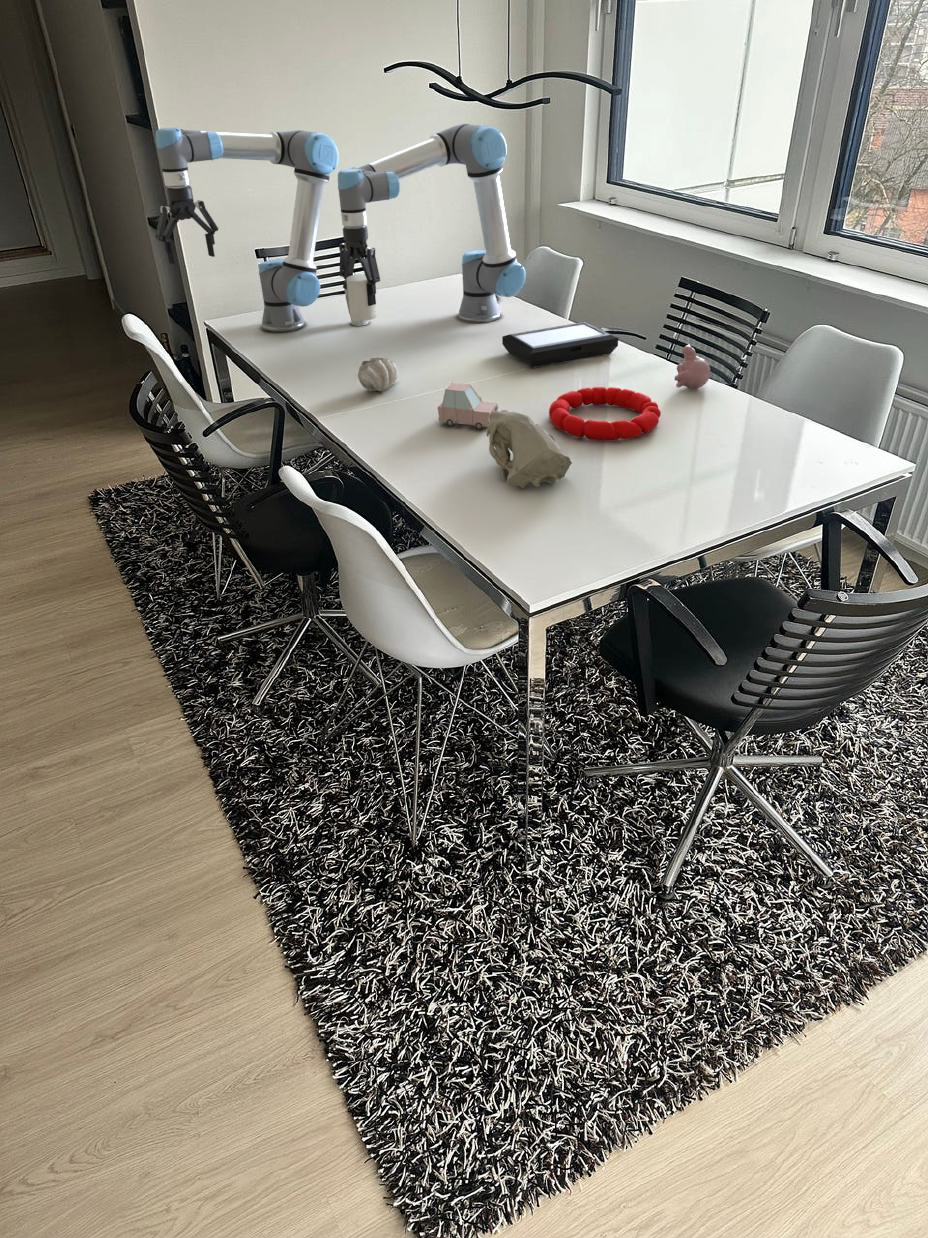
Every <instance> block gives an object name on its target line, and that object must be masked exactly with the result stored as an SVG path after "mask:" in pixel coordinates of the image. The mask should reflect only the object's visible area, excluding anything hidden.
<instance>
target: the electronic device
mask: <svg viewBox="0 0 928 1238" xmlns="http://www.w3.org/2000/svg"><path fill="white" fill-rule="evenodd" d="M501 343H502V344H501V345H502V346H503V347H504V349H505V350H506V351H507V353H508V354H509V355H511V356H513V357H514V358H516V359H518V360H519V361H521V362H523V363H524V364H526V365H527V366H529V367H530V368H532V369H534V368H539V367H545V366H551V365H556V364H563V363H568V362H572V361H573V362H574V361H578V360H579V361H580V360H584V359H590V358H595V357H601V356H606V355H611V354H613V352H614V351H615V350H616V349H617V348H618V346H619V337H617V336H615V335H613V334H611V333H609V332H607V331H605V330H603V329H602V328H599V327H597V326H595V325H593V324H591V323H589V322H587V321H581V322H576V323H569V324H563V325H557V326H552V327H546V328H540V329H533V330H528V331H527V330H526V331H522V332H515V333H510V334H506V335H503V336H501Z"/></svg>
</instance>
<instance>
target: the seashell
mask: <svg viewBox="0 0 928 1238" xmlns="http://www.w3.org/2000/svg"><path fill="white" fill-rule="evenodd" d="M357 377H358V381H359V382H360V385H361V386H362V387H363V388H364V389H366V391H368V392H375V391H379V392H385V391H388V390H390V388H391V387H392V386H393V385H394V384H395V382H396V380H397V379H398V367H397V365H396V363H395V361H393V360H389V358H383V357H371V358H370V359H369V360H362V362H361V364H360V366H359V367H358V373H357Z"/></svg>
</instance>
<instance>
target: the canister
mask: <svg viewBox="0 0 928 1238" xmlns="http://www.w3.org/2000/svg"><path fill="white" fill-rule="evenodd" d="M346 280H347V290H348V299H349V309H350V314H349V318H350V320H351V319H352V320H356V321H366V320H368V321H371V320H375V319H376V318H377V305H376V304H377V303H376V304H375V305H372V306H368V296H367V285H366V284H367V283H368V281H367V278H366V276H365V273H361V274H360V273H359V274H358V273H357V274H352V276H349V277H347V278H346ZM371 280H372V278H371Z"/></svg>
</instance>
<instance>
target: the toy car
mask: <svg viewBox="0 0 928 1238" xmlns="http://www.w3.org/2000/svg"><path fill="white" fill-rule="evenodd" d="M498 409H499V404H498V403H497V402H490V401H489V402H487V401H483V397H481V396H480V395H479V394H478V393H477V391H476V390H475V389H474V386H472V384H469V383H459V382H451V383H450V384H449V385H448V386H447V387H446V388H445V389H444V394H443V399H442V403H440V404H439V405H438V406H437V413H438V421H439V422H443V423H446V425H447V426H448V427H452V426H454V425H455V424H461V425H469V426H473V427H475V429H476V430H479V431H480V430H481V429H483V428H485V427H486V428H487V423H488V422H490V414H491V413H492V412H496V411H499V410H498Z"/></svg>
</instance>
